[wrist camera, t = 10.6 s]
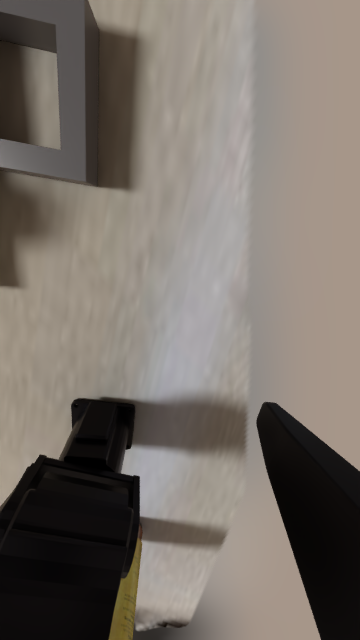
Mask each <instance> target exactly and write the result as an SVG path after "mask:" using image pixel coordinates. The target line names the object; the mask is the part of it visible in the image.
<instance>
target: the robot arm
mask: <svg viewBox="0 0 360 640" xmlns="http://www.w3.org/2000/svg"><path fill="white" fill-rule="evenodd" d="M76 404H78V405H76ZM130 409H131V410H130ZM71 411H72V431H71V434H70V436H69V438H68V440H67V442H66V444H65V447H64V449H63V451H62V453H61V455H60V457H59V460H57V459H53V458H48V457H47V456H45V455H39V457H38V458H37V460H36V462H35V463H32V464H31V466H29V467H27V469H26V471H25V473H24V474H23V476H22V478H21V480H20V481H19V483H18V485H17V486H16V488H15V489H14V490H13V492H12V493H11V494H10V495H9V497H8V498H7V499H6V500H5V502H4V503H3V504H2V505H1V506H0V640H109V636H110V630H111V625H112V619H113V613H114V609H115V604H116V600H117V595H118V591H119V587H120V582H121V578H123V579H125V578H126V577H127V575H128V573H129V571H130V568H131V565H132V562H133V558H134V554H135V550H136V545H137V539H138V532H139V520H140V476H135V475H134V476H130V475H125V474H121V470H122V465H123V460H124V454H125V449H126V450H127V449H130V448H131V446H132V437H133V427H134V417H135V406H134V405H132V404H124V403H112V402H101V401H89V400H78V399H77V400H74V401H73V402H72V405H71ZM257 429H258V434H259V438H260V443H261V447H262V452H263V456H264V461H265V465H266V469H267V473H268V476H269V479H270V483H271V486H272V489H273V492H274V495H275V498H276V501H277V504H278V507H279V510H280V514H281V517H282V520H283V523H284V526H285V529H286V532H287V535H288V538H289V541H290V545H291V548H292V551H293V553H294V557H295V560H296V563H297V566H298V569H299V572H300V575H301V578H302V582H303V585H304V588H305V591H306V594H307V597H308V600H309V603H310V606H311V610H312V613H313V615H314V619H315V622H316V625H317V628H318V631H319V634H320V638H321V640H360V471H358V470H357V469H356V468H355V467H354V466H352V465H351V464H350V463H349V462H347V461H346V460H345V459H344V458H343V457H341V456H340V455H339V454H338V453H336V452H335V451H334V450H333V449H331V448H330V447H329V446H328V445H327V444H325V443H324V442H323V441H322V440H320V439H319V438H318V437H317V436H316V435H314V434H313V433H312V432H311V431H309V430H308V429H307V428H306V427H305V426H303V425H302V424H301V423H300V422H299V421H297V420H296V419H295V418H294V417H292V416H291V415H290V414H289V413H288V412H286V411H285V410H284V409H283V408H281V407H280V406H279V405H278V404H276V403H271V402H264V403H263V404H262V407H261V409H260V412H259V414H258V417H257Z"/></svg>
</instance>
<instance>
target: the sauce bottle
mask: <svg viewBox="0 0 360 640" xmlns="http://www.w3.org/2000/svg"><path fill="white" fill-rule="evenodd" d="M141 538H142V527H141V525H140V524H139V532H138V539H137V545H136V550H135V554H134V558H133V562H132V565H131V568H130V571H129V573H128V575H127V577H126V578H125V579H123V578H121V582H120V587H119V591H118V595H117V600H116V604H115V609H114V613H113V619H112V625H111V630H110V636H109V640H132V636H133V626H134V616H135V607H136V597H137V588H138V578H139V569H140V559H141V550H142V542H141Z"/></svg>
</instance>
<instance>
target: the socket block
mask: <svg viewBox="0 0 360 640" xmlns="http://www.w3.org/2000/svg"><path fill="white" fill-rule="evenodd" d="M0 40H3V41H7V42H12V43H16V44H20V45H25V46H29V47H34V48H38V49H42V50H47V51H51V52H56V53H57V68H58V92H59V115H60V138H61V150H57V149H52V148H47V147H41V146H36V145H31V144H25V143H20V142H15V141H10V140H4V139H0V170H5V171H10V172H16V173H22V174H27V175H33V176H39V177H44V178H50V179H56V180H61V181H67V182H73V183H78V184H84V185H90V186H95V187H98V87H99V28H98V26H97V23H96V20H95V18H94V15H93V12H92V10H91V7H90V4H89V2H88V0H0Z"/></svg>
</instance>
